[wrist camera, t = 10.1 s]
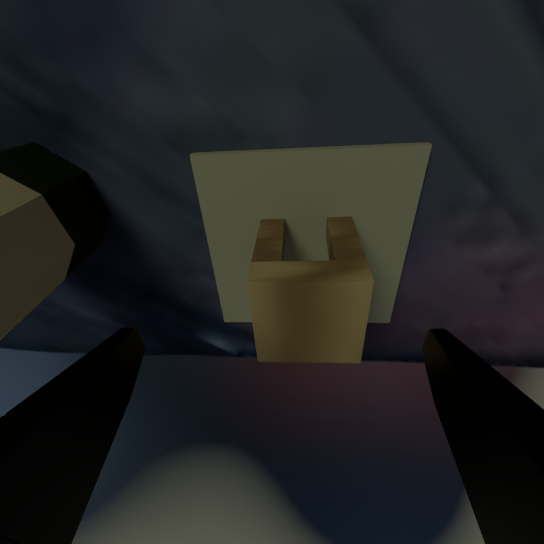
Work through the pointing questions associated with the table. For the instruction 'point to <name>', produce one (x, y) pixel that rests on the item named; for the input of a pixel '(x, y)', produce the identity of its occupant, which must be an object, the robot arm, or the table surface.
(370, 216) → the mat
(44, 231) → the wine bottle
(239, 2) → the table surface
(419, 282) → the table surface
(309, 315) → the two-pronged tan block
